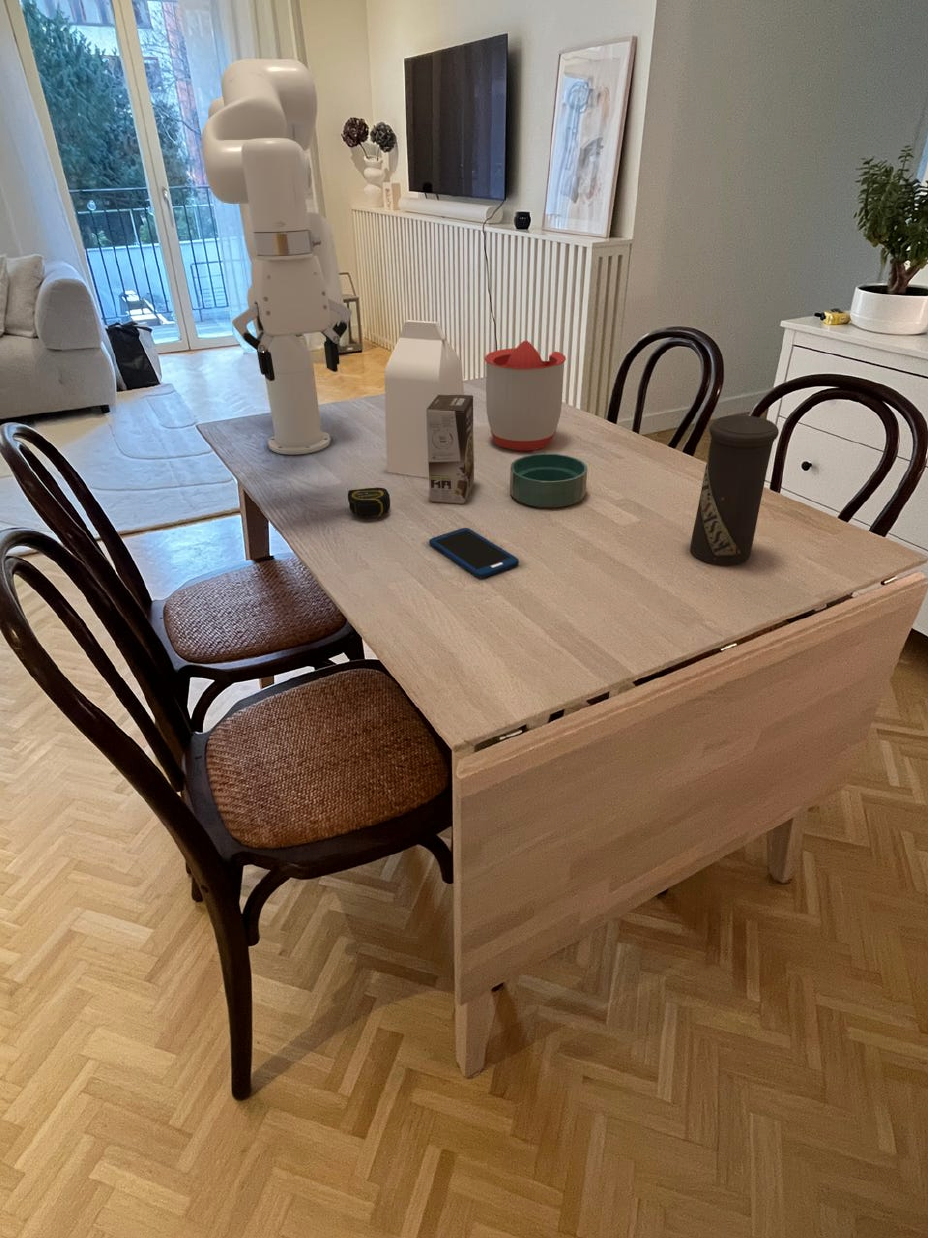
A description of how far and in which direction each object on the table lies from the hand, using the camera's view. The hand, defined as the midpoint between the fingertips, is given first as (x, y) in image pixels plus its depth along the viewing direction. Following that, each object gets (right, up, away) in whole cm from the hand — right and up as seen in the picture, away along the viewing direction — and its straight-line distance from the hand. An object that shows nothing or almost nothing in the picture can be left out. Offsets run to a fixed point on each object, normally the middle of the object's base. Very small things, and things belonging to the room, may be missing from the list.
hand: (301, 374), depth 108 cm
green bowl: (+39, -15, +19) cm, 46 cm away
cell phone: (+26, -27, 0) cm, 37 cm away
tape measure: (+8, -19, +14) cm, 25 cm away
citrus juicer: (+37, 0, +41) cm, 55 cm away
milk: (+17, -7, +31) cm, 36 cm away
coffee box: (+22, -14, +20) cm, 33 cm away
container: (+62, -27, -1) cm, 68 cm away
